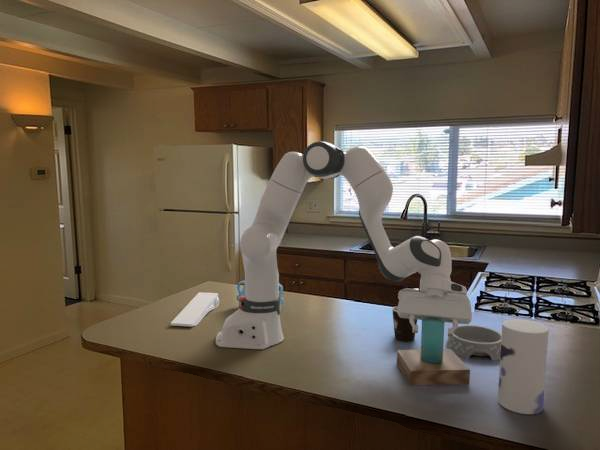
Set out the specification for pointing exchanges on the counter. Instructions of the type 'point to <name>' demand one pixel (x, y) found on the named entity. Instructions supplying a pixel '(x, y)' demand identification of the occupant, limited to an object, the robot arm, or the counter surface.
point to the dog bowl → (475, 341)
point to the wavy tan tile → (432, 369)
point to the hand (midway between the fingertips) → (432, 333)
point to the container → (522, 366)
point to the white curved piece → (196, 309)
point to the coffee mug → (402, 327)
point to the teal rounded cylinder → (432, 340)
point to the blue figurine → (244, 291)
